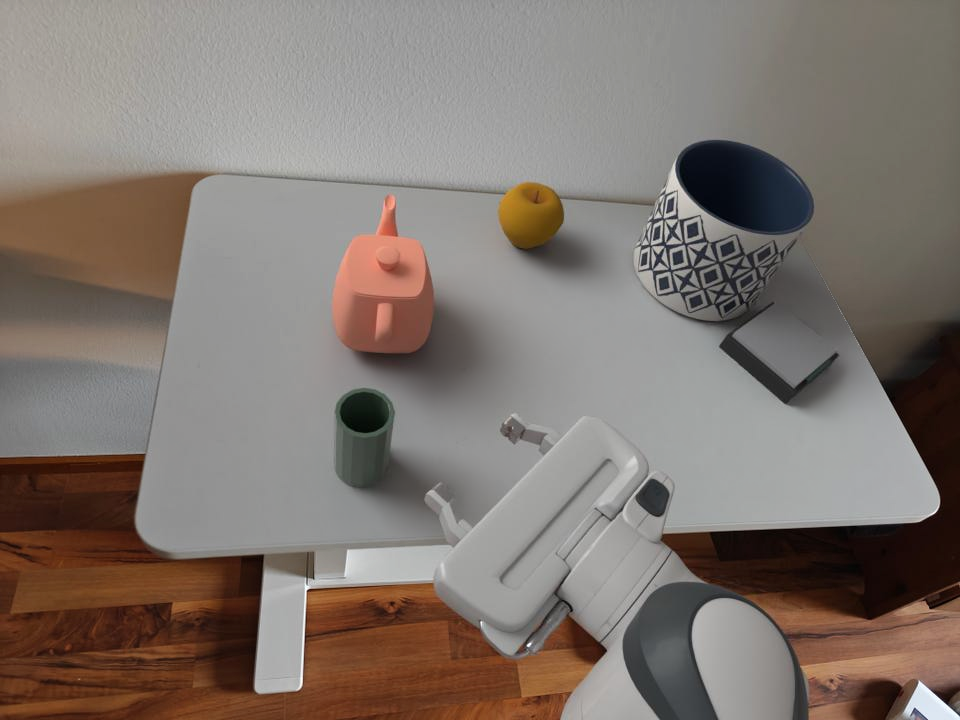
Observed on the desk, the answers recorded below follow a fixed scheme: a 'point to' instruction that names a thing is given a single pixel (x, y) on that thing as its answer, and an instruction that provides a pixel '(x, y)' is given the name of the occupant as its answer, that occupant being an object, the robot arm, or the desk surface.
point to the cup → (362, 436)
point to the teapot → (384, 291)
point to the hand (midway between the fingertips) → (470, 454)
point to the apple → (530, 214)
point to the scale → (779, 351)
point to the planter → (721, 229)
